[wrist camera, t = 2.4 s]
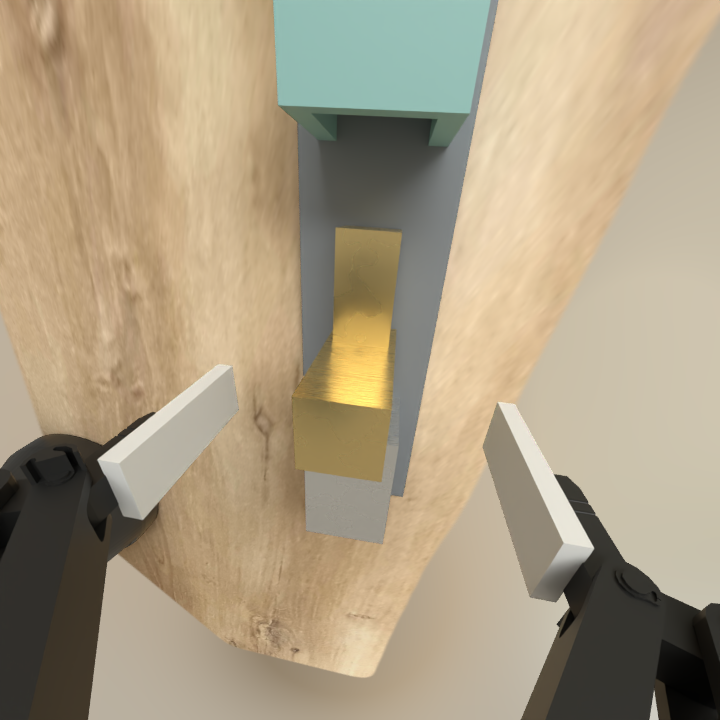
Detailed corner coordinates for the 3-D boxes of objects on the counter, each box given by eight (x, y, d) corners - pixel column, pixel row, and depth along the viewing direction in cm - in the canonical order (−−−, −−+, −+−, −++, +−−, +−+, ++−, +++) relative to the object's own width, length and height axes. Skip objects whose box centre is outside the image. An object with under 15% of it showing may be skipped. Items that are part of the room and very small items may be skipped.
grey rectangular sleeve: (322, 476, 27) (306, 530, 22) (324, 388, 23) (303, 432, 18) (386, 486, 26) (382, 544, 22) (399, 398, 22) (398, 446, 17)
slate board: (308, 474, 28) (306, 481, 27) (299, -15, 14) (293, -28, 13) (402, 489, 27) (402, 496, 27) (498, -14, 13) (503, -28, 12)
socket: (318, 139, 16) (278, 105, 11) (318, 5, 13) (267, -119, 8) (447, 147, 15) (469, 113, 10) (470, 7, 13) (513, -126, 8)
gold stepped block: (332, 472, 26) (300, 587, 18) (340, 224, 17) (284, 233, 9) (376, 479, 26) (365, 599, 18) (409, 230, 17) (414, 244, 9)
